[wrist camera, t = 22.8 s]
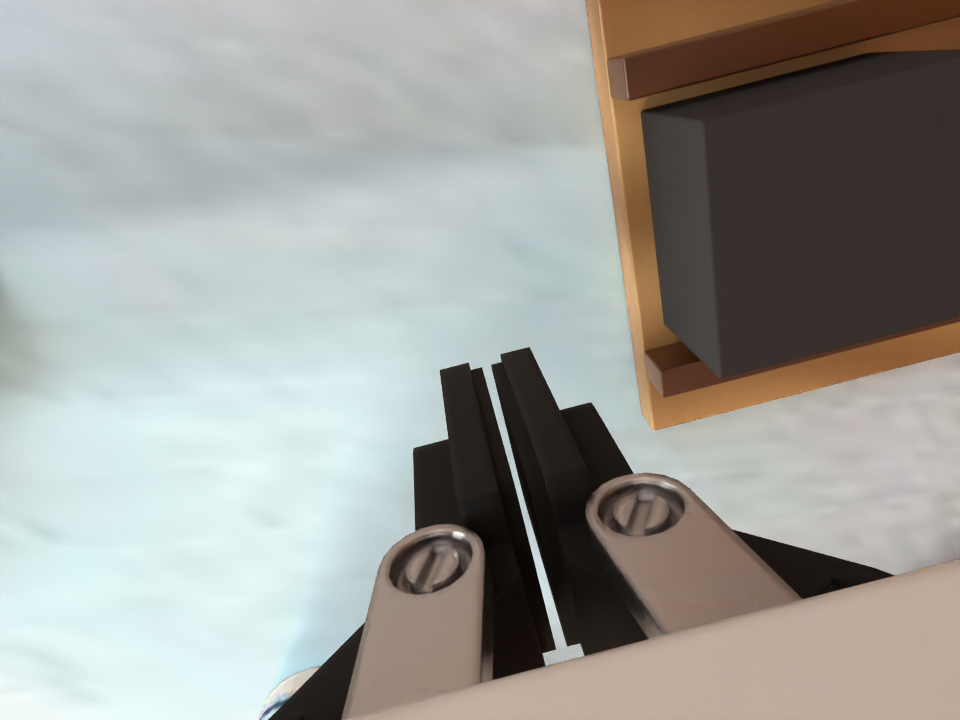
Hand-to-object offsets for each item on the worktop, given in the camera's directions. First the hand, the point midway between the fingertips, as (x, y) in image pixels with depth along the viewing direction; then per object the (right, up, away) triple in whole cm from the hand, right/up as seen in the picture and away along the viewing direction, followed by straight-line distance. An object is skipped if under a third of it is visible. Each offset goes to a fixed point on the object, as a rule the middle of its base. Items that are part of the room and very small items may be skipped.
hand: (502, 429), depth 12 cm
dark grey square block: (+8, +6, +7) cm, 12 cm away
